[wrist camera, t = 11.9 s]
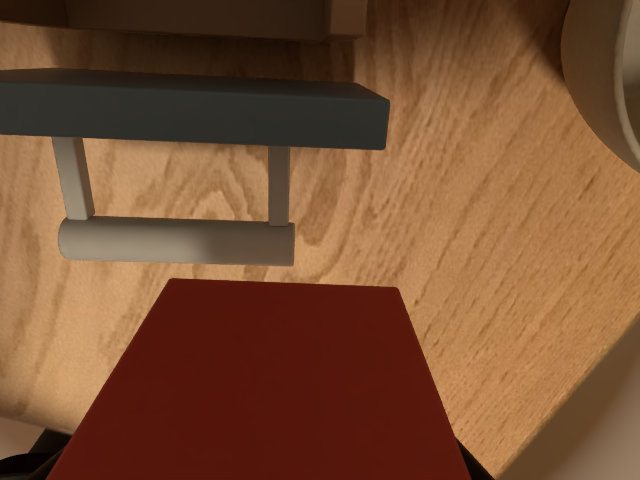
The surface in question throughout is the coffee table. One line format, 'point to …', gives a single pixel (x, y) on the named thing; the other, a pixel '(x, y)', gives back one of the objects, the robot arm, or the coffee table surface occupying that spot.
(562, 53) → the bowl
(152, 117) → the drawer
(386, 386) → the block
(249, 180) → the coffee table surface
